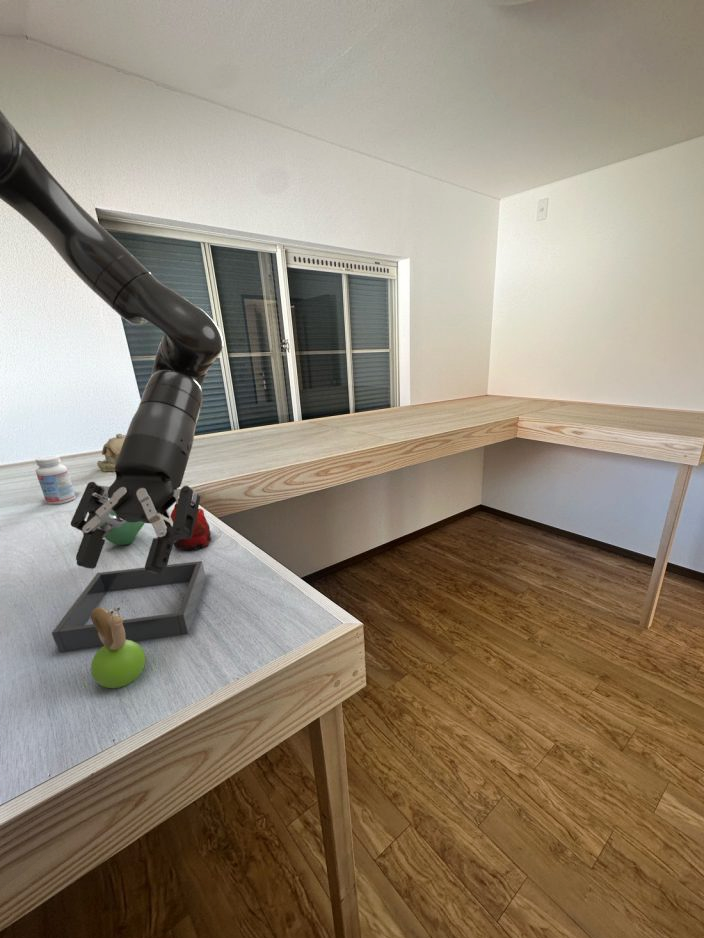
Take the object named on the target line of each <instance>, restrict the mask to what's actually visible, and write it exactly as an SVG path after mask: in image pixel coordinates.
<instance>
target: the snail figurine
mask: <svg viewBox="0 0 704 938" xmlns="http://www.w3.org/2000/svg"><path fill="white" fill-rule="evenodd" d="M120 610H121V607H120V606H118V605H117V606H114V607H113V609H106V607H105V608H104V607H102V606H97V607H96V608H95V609H93V610H92V612H91V616H90V620H91V622H92V624H94V626H95V628H96V629H97V631H98V635H99V638H100V640H101V642H102V643H103V644H104V646H103V647H100V649H98V650H97V652H96V653H95V654H94V656H93V658H92V661H91V663H90V664H91V666H90V673H91V676H92V678H93V680H94V681H95V682H96V683H97V684H98V685H100V686H101V687H103V688H107V689H120V688H123V687H126V686H128V685H130V684H131V683H133V682H134V681H136V680H137V679H138V678H139V676H140V675H141V674H142V672H143V671H144V668H145V666H146V654H145V651H144V649H143V648H142V645H140V644H139V643H137V642H133V641H131V640H126V636H125V629H124V626H123V624H122V623H123V620H124V619H123V617H122V615H120V612H119V611H120ZM114 612H117V614H114Z"/></svg>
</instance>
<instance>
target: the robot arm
mask: <svg viewBox="0 0 704 938" xmlns="http://www.w3.org/2000/svg"><path fill="white" fill-rule="evenodd" d="M0 200H1V201H3V202H4V203H6V205H8V206H9V207H11V208H12V209H13V210H14V211H15V212H17V213H18V214H20V216H22V217H23V218H24V219H25V220H26V221H27V222H29V223H30V225H32V226H33V227H34V228H35V229H36V230H37V231H38V232H39V233H40V234H41V235H42V236H43V237H44V239H46V241H48V242H49V244H50V245H51V246H52V248H53V249H54V250H55V251H56V252H57V254H58V255H59V256H60V258H62V260H63V261H64V262H65V264H66V265H67V266H68V267H69V268H70V269H71V271H72V272H73V273H74V274H75V275H76V276H77V277H78V278H79V279H80V280H81V281H82V282H83V283H84V284H85V285H86V286H87V287H88V288H89V289H90V290H91V291H92V292H94V294H96V295H97V296H98V297H99V298H100V299H101V300H102V301H103V302H104V303H105V304H107V305H108V306H109V307H110V308H111V309H112V310H113V311H114V312H115V313H116V314H118V316H120V317H121V318H122V319H124V320H125V321H126V322H128V323H129V324H130V325H134V326H142V325H146V324H148V323H151V325H153V326H155V327H156V328H157V329H159V330H160V331H161V332H162V333H163V336H162V339H161V340H160V342H159V345H158V348H157V351H156V354H155V356H154V357H155V358H154V361H153V364H152V365H153V366H152V371H151V375H150V378H149V379H148V381H147V383H146V386H145V388H144V391H143V393H142V396H141V398H140V401H139V404H138V405H139V406H138V407H137V409H136V410H135V411H136V412H135V413H134V414H133V417H132V419H131V421H130V422H129V426H128V429H127V432H126V433H125V435H126V437H125V440H124V442H123V445H122V448H121V451H120V453H119V456H118V459H117V462H116V465H115V471H114V472H115V480H114V481H113V482H112V484H111V485H110V486H107V485H106V486H105V485H100V484H99V483H97V482H95V481H91V482H88V483H87V484H86V487H85V489H84V491H83V494H82V496H81V498H80V500H79V503H78V505H77V507H76V510H75V512H74V514H73V516H72V519H71V520H70V526H71V527H72V528H75V529H76V530H78V531H81V532H82V539H81V542H80V544H79V546H78V549H77V553H76V555H75V561H76V565H77V566H79V567H82V568H86V569H91V570H92V569H96V567H97V566H98V563H99V560H100V556H101V553H102V551H103V548H104V545H105V542H106V539H105V537H106V536H107V535H108V534H109V533H110V532H111V531H112V530H113V529H115V528H118V527H121V526H122V525H123V524H124V523H126V522H132V523H135V522H140V521H141V522H144V523H145V524H151V525H152V528H153V530H154V533H155V535H156V537H153V539H152V541H151V545H150V548H149V550H148V551H149V552H148V555H147V557H146V562H145V565H144V568H145V570H146V571H149V572H152V573H159V574H160V573H161V572H162V570H163V569H165V567H166V566H167V565H169V560H170V556H171V553H172V549H173V546H174V543H175V542H176V541H177V540H180V539H183V538H185V539H190V538H191V537H192V536H193V531H194V527H195V522H196V517H197V512H198V509H199V506H200V501H201V495H200V494H199V493H197V491H195V490H194V489H193V488H191V487H190V486H188V485H184V486H182V482H183V479H184V475H185V473H186V469H187V466H188V462H189V459H190V454H191V451H192V447H193V445H194V441H195V432H196V427H197V423H198V420H199V417H200V413H201V409H202V406H203V399H204V393H203V389H202V388H203V384H204V381H205V379H206V376H207V374H208V371H209V370H210V369H211V367H212V366H213V364H214V363H215V362H216V360H217V359H218V357H219V356H220V354H221V352H222V350H223V346H224V340H223V336H222V333H221V330H220V329H219V327H218V326H217V324H216V323H215V321H214V320H213V319H212V318H211V317H210V316H209V315H208V313H206V312H205V311H204V310H203V309H201V308H200V307H198V306H197V305H195V304H194V303H192V302H191V301H189V299H188V300H187V299H186V298H185V297H183V296H181V294H179V293H177V292H176V291H175V290H173V289H171V288H169V287H168V286H166V285H164V284H163V283H161V282H160V281H159V280H158V279H157V278H156V277H155V276H154V275H153V274H152V273H151V272H150V271H149V270H148V269H147V268H146V267H145V266H144V265H143V264H142V263H141V262H140V261H139V260H138V259H137V258H136V257H134V254H132V253H131V252H130V251H129V250H127V248H126V247H124V246H123V245H122V244H121V243H120V242H119V241H118V240H117V239H116V238H115V237H114V236H113V235H112V234H111V233H110V232H108V231H107V230H106V228H104V227H103V226H102V224H100V223H99V222H98V221H97V220H96V219H95V218H93V216H91V214H90V213H88V212H87V211H86V210H85V209H84V208H83V207H82V206H81V205H80V204H79V203H78V202H77V201H76V200H75V198H73V197H72V196H71V194H70V193H69V192H68V191H67V190H66V189H65V188H64V187H63V186H62V185H61V184H60V183H59V181H58V180H57V179H56V178H55V177H54V176H53V174H51V172H50V171H49V170H48V169H47V168H46V165H44V164H43V162H42V161H41V160H40V158H39V157H38V156H37V155H36V153H34V151H33V150H32V149H31V148H30V146H29V145H28V143H27V142H26V141H25V140H24V138H23V137H22V136H21V134H20V133H19V132H18V130H17V129H16V128H15V127H14V126H13V124H12V123H11V121H10V120H9V119H8V117H6V115H5V114H4V112H2V110H1V109H0ZM181 486H182V487H181ZM180 487H181V488H180ZM176 503H177V509H176V513H175V517H174V522H173V521H172V519H171V513H170V512H169V509H170V508H171V507H172V506H173V505H175V504H176ZM113 510H114V513H115V514H116V515H117V516H113V515H111V514H110V513H111V512H112V511H113ZM104 522H106V523H104ZM103 523H104V524H103ZM102 524H103V525H102ZM100 525H102V526H101V527H100V528H99V526H100Z"/></svg>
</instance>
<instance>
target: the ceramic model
mask: <svg viewBox="0 0 704 938" xmlns="http://www.w3.org/2000/svg"><path fill="white" fill-rule="evenodd" d="M125 437H126V434H122V433H117V434H116V436H114V437H111V438H109V439H108V441H107V442H105V444H104V445H103V447H102V450H101V455H103V456H104V457H105V460H98V461H97V463H96V464H97V467H98V468H99V469H100V471H104V472H116V471H115V465H116V462H117V459H118V456H119V453H120V451H121V448H122V445H123V442H124V440H125Z"/></svg>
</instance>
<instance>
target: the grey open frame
mask: <svg viewBox="0 0 704 938" xmlns="http://www.w3.org/2000/svg"><path fill="white" fill-rule="evenodd" d="M206 578H207V577H206V573H205V568H204V563H203V561H201V560H200V561H199V560H198V561H190V562H182V563H172V564H167V566H166V567H165V569H163V570H162V572H161V573H160V574H159V573H152V572H149V571H146V570H145V567H137V568H129V569H119V570H111V571H103V572H97V573H96V574H95V575H94V577H93V578H92V579H91V581H89V583H88V585H87V586H86V587H85V588H84V590H83V591H82V592H81V593H80V595H79V596H78V598H77V599H76V600H75V602H74V603H73V604H72V605H71V607H70V608H69V609H68V610H67V612H66V614H64V616H63V617H62V619H61V620H60V621H59V622H58V624H57V625H56V626H55V628H54V629H53V631H52V632H51V636H52V638H53V640H54V643H55V645H56V647H57V650H58V653H59V654H60V653H67V652H75V651H81V650H82V651H83V650H88V649H95V648H102V647H103V646H104V644H103V643H102V642H101V640H100V638H99V635H98V631H97V629H96V628H95V626H94V624H93V623H91V624H90V623H89V624H86V623H87V622H88V620H89V619H90V618H91V612H92V610H93V609H95V608H97V607H99V604H100V602H102V600H103V598H104V596H105V595H106V594H107V593H109V592H117V591H126V590H127V591H128V590H134V589H142V588H150V587H160V586H166V585H167V586H168V585H174V584H183V583H188V585H187V588H186V591H185V594H184V597H183V599H182V603H181V604H180V607H179V610H178V612H172V613H165V614H158V615H157V614H156V615H150V616H142V617H135V618H128V619H127V618H126V619H123V623H122V624H123V626H124V629H125V636H126V640H131V641H133V642H136V643H137V642H143V641H151V640H158V639H163V638H165V639H166V638H172V637H178V636H185V635H189V633H190V629H191V627H192V623H193V620H194V617H195V614H196V610H197V607H198V603H199V601H200V598H201V594H202V591H203V588H204V584H205V582H206Z"/></svg>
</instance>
